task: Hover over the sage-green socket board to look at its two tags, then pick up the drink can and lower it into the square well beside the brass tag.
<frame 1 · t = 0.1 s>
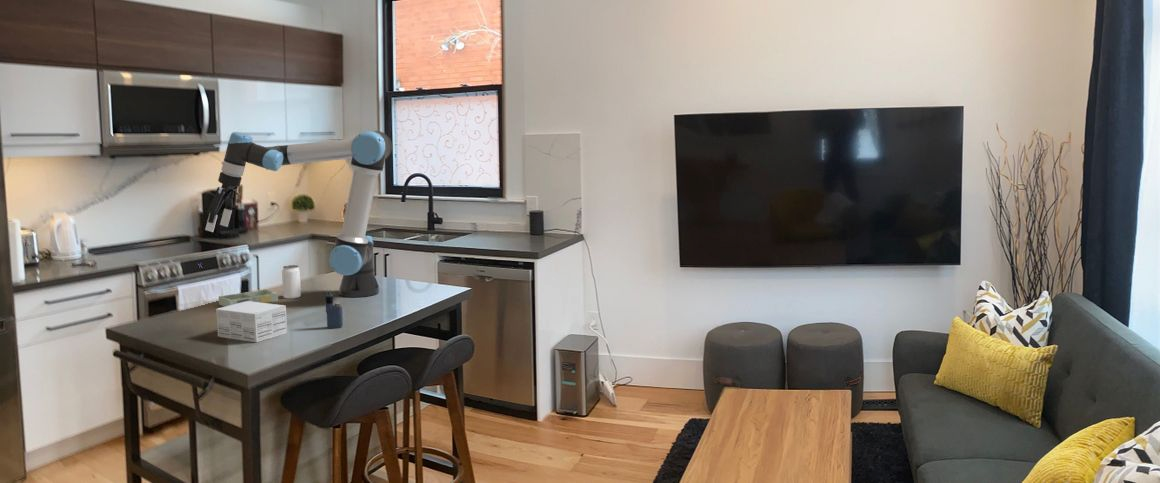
hand: (216, 228, 301), 28 cm above the table, tool tilted 20°, fingers open, 13 cm apart
socket board: (248, 302, 303), on the table
supplement box: (253, 335, 259), on the table
vaping device: (334, 327, 268), on the table
can: (292, 297, 313), on the table
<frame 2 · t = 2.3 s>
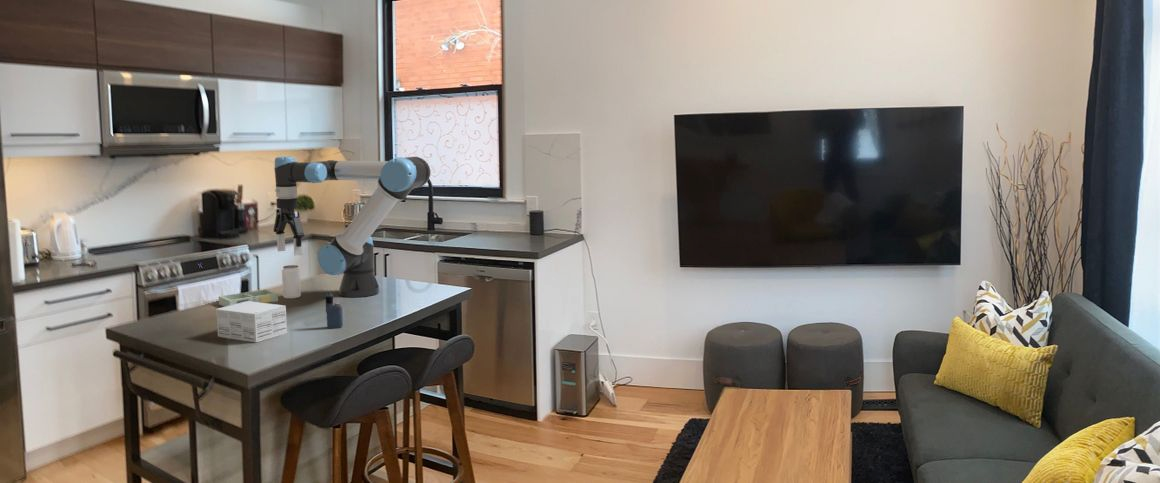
hand: (289, 253, 310), 17 cm above the table, tool pointing down, fingers open, 13 cm apart
nothing on the table moved.
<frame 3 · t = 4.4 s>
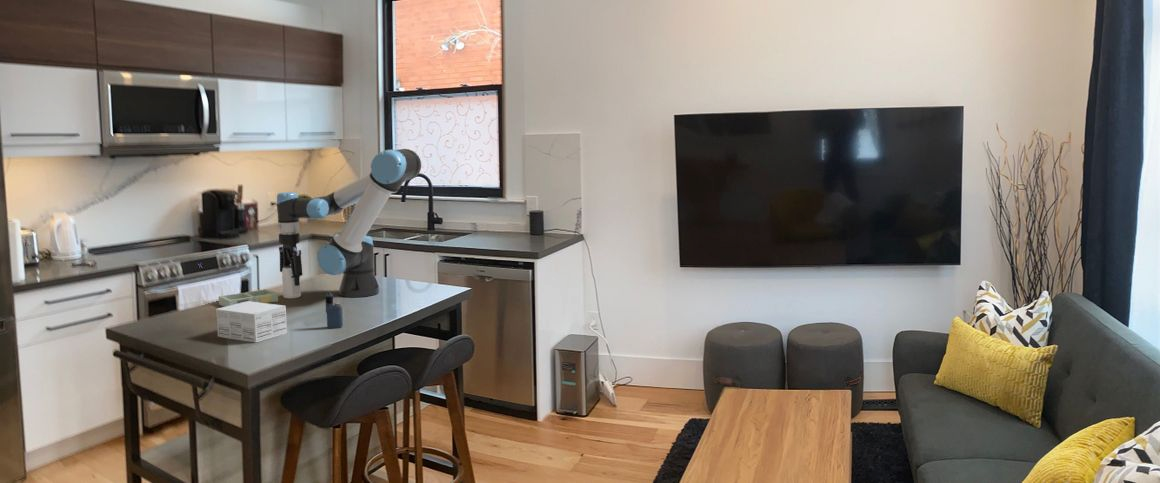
hand: (292, 292, 312), 2 cm above the table, tool pointing down, fingers closed on can, 6 cm apart
can: (292, 297, 313), on the table, touching gripper
everything else where it was.
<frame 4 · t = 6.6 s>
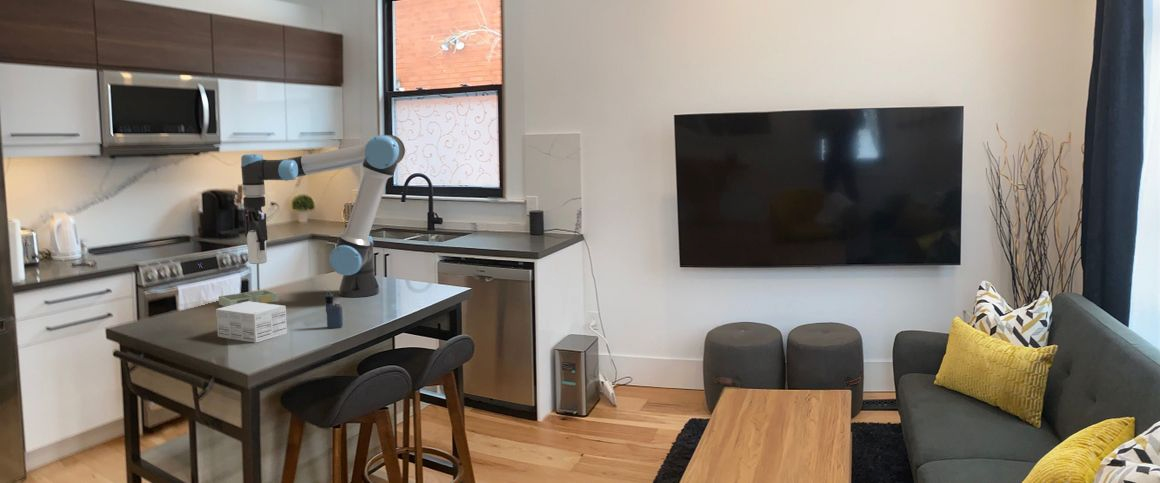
hand: (257, 257, 303), 17 cm above the table, tool pointing down, fingers closed on can, 6 cm apart
can: (257, 263, 304), point 14 cm above the table, touching gripper
everything else where it was.
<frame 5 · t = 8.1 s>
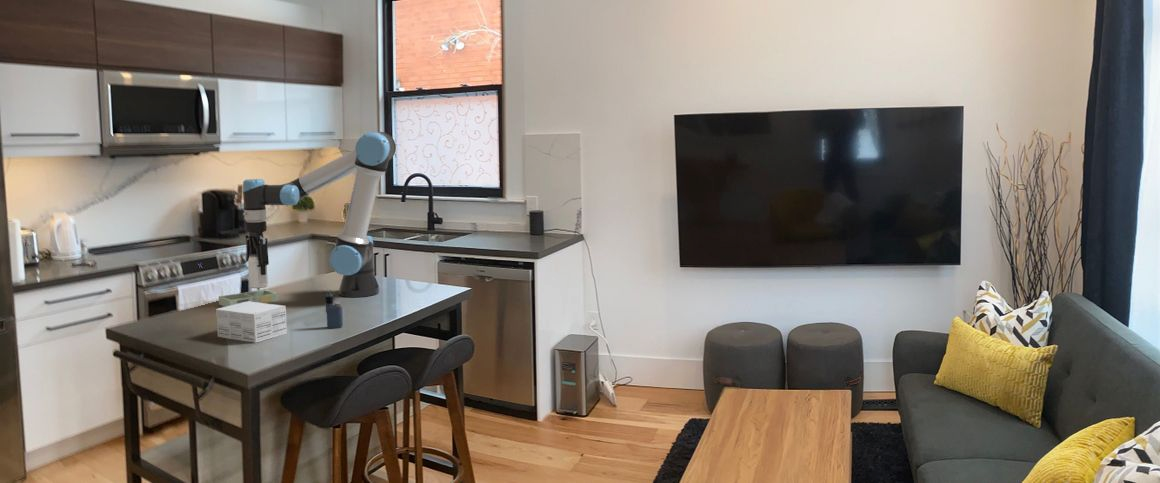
hand: (258, 281, 305), 7 cm above the table, tool pointing down, fingers closed on can, 6 cm apart
can: (258, 287, 305), point 5 cm above the table, touching gripper
everything else where it was.
when the fingers open (4 cm above the table, at t = 9.2 s): can drops 2 cm, resting in socket board.
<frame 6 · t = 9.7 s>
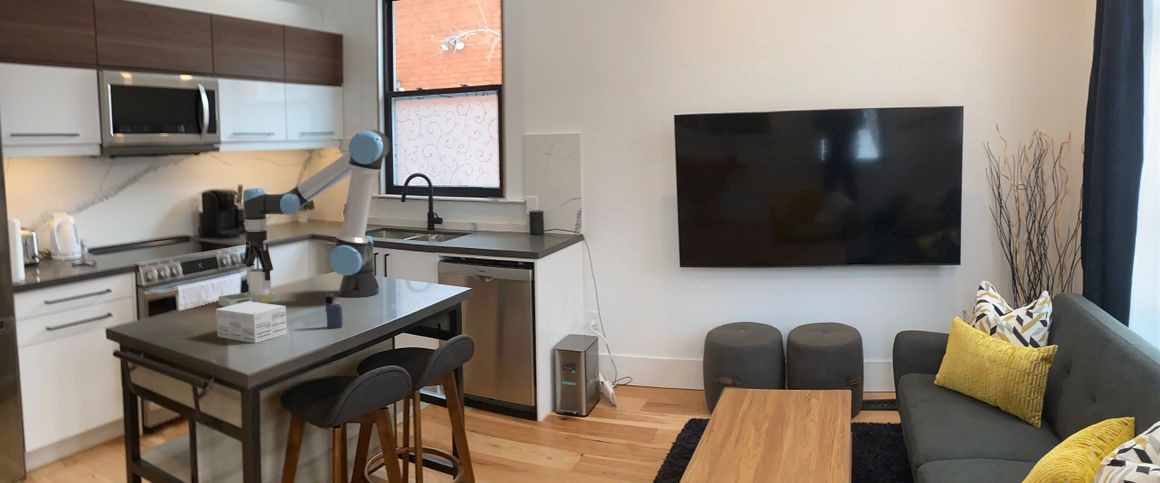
hand: (259, 286, 305), 6 cm above the table, tool pointing down, fingers open, 13 cm apart
can: (260, 301, 306), resting in socket board
everything else where it was.
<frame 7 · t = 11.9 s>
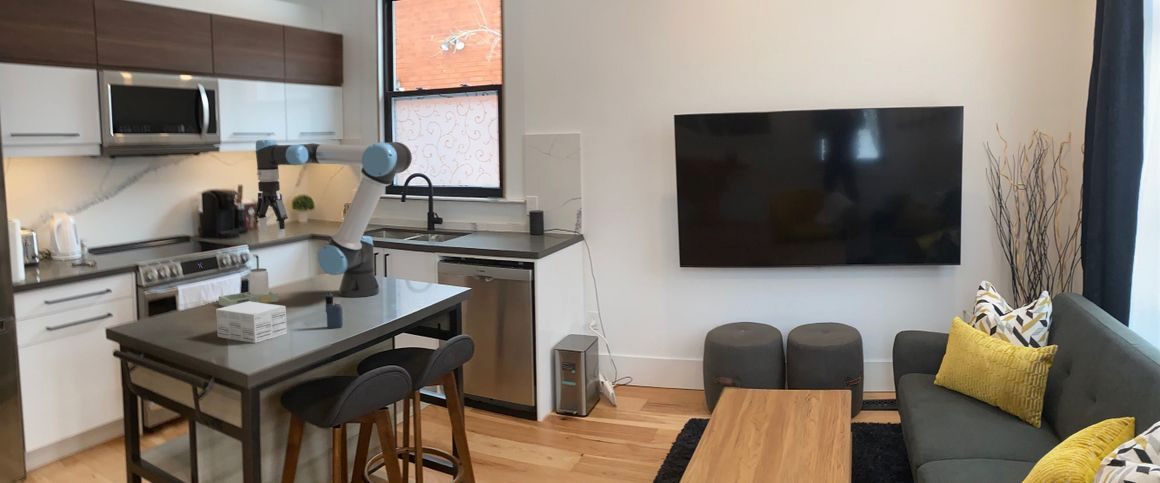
hand: (272, 236, 310), 23 cm above the table, tool pointing down, fingers open, 13 cm apart
nothing on the table moved.
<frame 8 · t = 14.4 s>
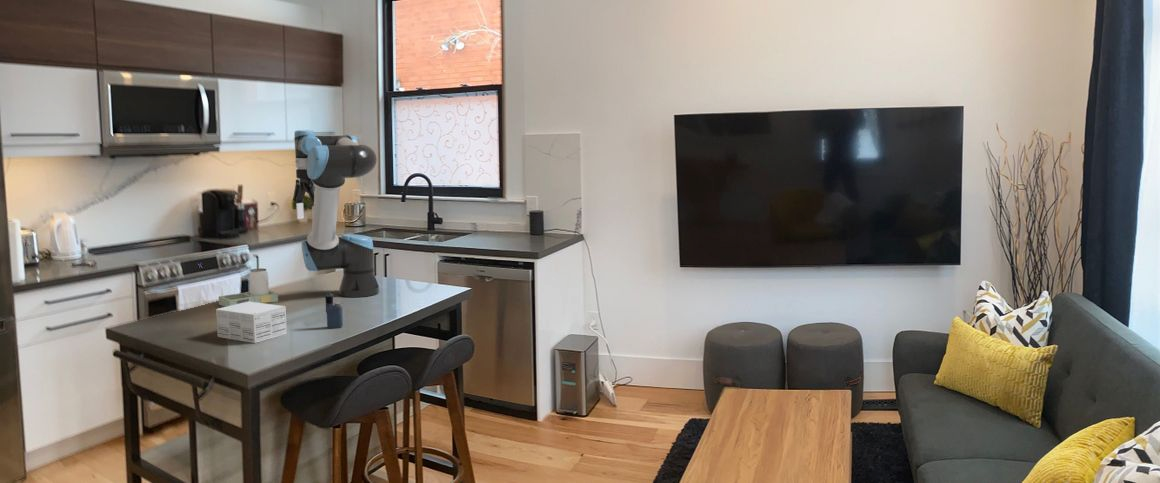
hand: (308, 220, 333), 27 cm above the table, tool pointing down, fingers open, 13 cm apart
nothing on the table moved.
at the end: can 0.1 cm from the target spot on the socket board, point 0.0 cm above the socket board's base; can tilted 0°; the gripper is holding nothing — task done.
